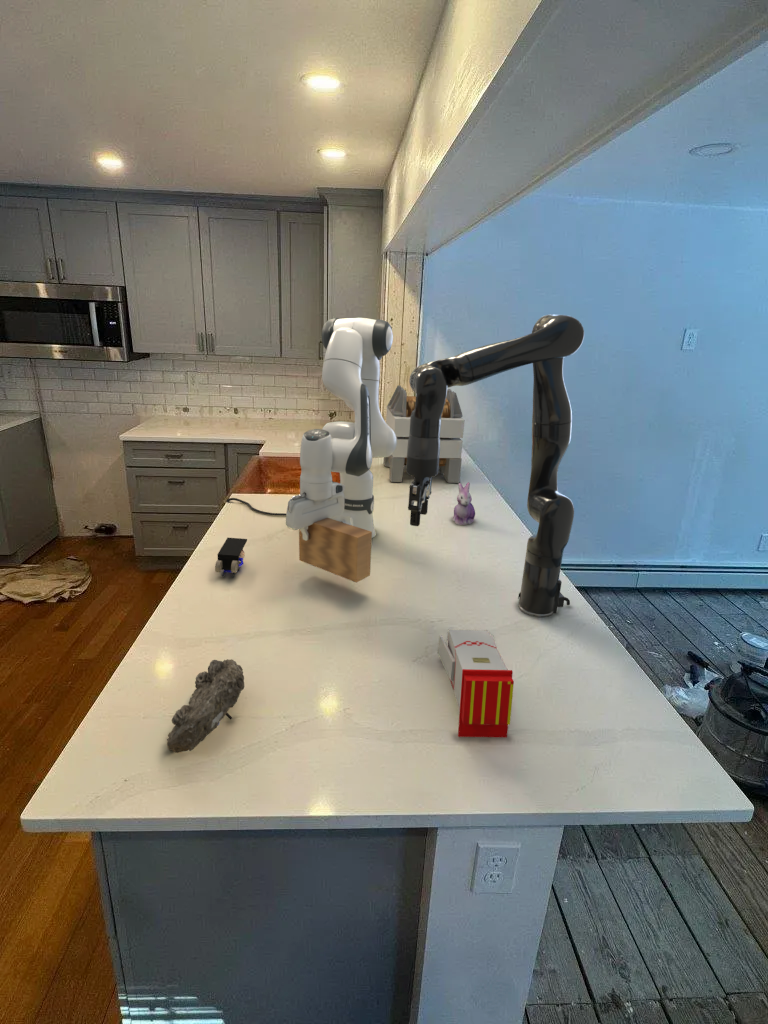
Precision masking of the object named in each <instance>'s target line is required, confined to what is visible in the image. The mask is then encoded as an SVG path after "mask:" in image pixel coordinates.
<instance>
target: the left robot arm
mask: <svg viewBox="0 0 768 1024" xmlns="http://www.w3.org/2000/svg"><path fill="white" fill-rule="evenodd" d="M321 342H322V346H323V347H324V349H325V354H324V359H323V363H322V369H321V381H322V383H323V387H324V388H325V389H326V390H327V391H328V392H329V393H330V394H331V395H333V396H334V397H336V398H338V399H339V400H341V401H343V402H344V405H346V407H347V408H349V409H350V410H351V411H353V412H354V422H353V421H343V420H342V421H341V420H339V421H331V422H327V423H325V425H323V427H322V428H313V429H309V430H307V431H305V432H303V434H302V436H301V441H300V449H299V466H300V469H301V470H300V477H299V494H296V495H293V496H291V498H290V499H289V500H288V502H287V507H286V513H285V512H283V513H281V512H279V513H278V512H269V511H263V510H260V509H258V508H255V507H253V506H252V505H251V504H250V503H249V502H247V501H245V500H243V499H239V498H237V497H230V498H228V499H226V500H225V502H226V503H229V502H230V501H236V502H238V503H242V504H244V505H246V506H247V507H248V508H249V509H250V510H252V511H253V512H256V513H258V514H262V515H268V516H277V517H279V516H282V517H285V526H286V528H288V529H290V530H293V531H299V529H300V531H301V532H302V535H303V540H306V541H307V540H309V539H311V537H310V536H311V534H310V533H308V532H307V529H308V526H310V525H312V524H313V523H314V522H317V521H320V520H322V519H325V518H330V519H333V520H336V521H340V522H343V523H346V524H349V525H352V526H355V527H358V528H362V529H365V530H368V531H371V532H372V539H373V538H375V537H376V535H377V532H376V528H375V523H374V513H373V512H374V509H375V496H374V474H373V472H372V471H371V467H372V464H373V459H384V457H389V456H390V455H391V454H392V453H393V452H394V450H395V448H396V445H397V438H396V435H395V433H394V431H393V430H392V429H391V428H390V427H389V426H388V425H387V423H386V420H385V419H384V417H383V416H382V412H381V410H380V402H379V399H380V398H379V397H380V394H379V392H380V377H381V367H380V366H381V363H380V361H381V360H382V358H383V357H385V356H386V355H387V354H388V353H389V352H390V351H391V348H392V345H393V342H394V333H393V329H392V325H391V324H390V323H389V322H388V321H387V320H383V319H379V318H377V319H373V318H369V317H368V318H366V317H346V318H344V317H343V318H339V317H333V318H330V319H327V320H326V322H324V324H323V326H322V330H321ZM332 473H339V482H338V481H337V482H336V481H333V476H332Z"/></svg>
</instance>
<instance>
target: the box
mask: <svg viewBox="0 0 768 1024" xmlns="http://www.w3.org/2000/svg"><path fill="white" fill-rule="evenodd" d="M307 532H308V533H310V534H311V536H310V537H311V539H309V540H307V541H306V540H303V535H302V532H301V531H300V529H298V560H299V561H300V562H303V563H304V564H307V565H311V566H313V567H315V568H318V569H321V570H323V571H325V572H327V573H330V574H334V575H336V576H339V577H342V578H344V579H346V580H348V581H351V582H354V583H358V582H361V581H362V580H365V579H366V578H368V577H370V576H371V566H372V565H371V561H372V542H373V541H372V539H373V538H372V532H371V531H368V530H365V529H362V528H358V527H355V526H352V525H349V524H346V523H343V522H340V521H336V520H333V519H330V518H325V519H322V520H320V521H317V522H314V523H313V524H312V525H310V526H308V529H307Z"/></svg>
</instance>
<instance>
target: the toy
mask: <svg viewBox="0 0 768 1024" xmlns="http://www.w3.org/2000/svg"><path fill="white" fill-rule="evenodd" d="M446 640H447V643H446V641H445V639H444V636H443V635H442V634H439V637H438V646H437V656H438V657H439V659H440V661H441V663H442V666H443V668H444V670H445V672H446V674H447V677H448V679H449V681H450V684H451V687H452V690H453V693H454V697H455V701H456V705H457V708H458V711H459V714H458V715H459V716H458V730H457V731H458V732H457V737H458V738H508V731H509V726H510V725H511V717H512V707H513V697H514V696H513V695H514V684H515V680H514V679H513V673H514V671H513V670H512V669H508V667H507V665H506V662H505V661H504V659H503V658H502V655H501V653H500V651H499V649H498V647H497V643H496V639H495V637H494V635H493V634H491V632H490V631H489V629H467V628H466V629H465V628H463V629H461V628H460V629H459V628H448V630H447V639H446Z"/></svg>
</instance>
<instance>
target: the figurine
mask: <svg viewBox="0 0 768 1024" xmlns="http://www.w3.org/2000/svg"><path fill="white" fill-rule="evenodd" d="M457 485H458V494H457V496H456V501H457V504H456V505H455V506H454V508H453V516H452V521H453V522H454V523H455V524H456V525H460V526H466V525H471V524H472V523H473V522H474V521H475V516H476V510H475V507H474V505H473V503H472V500H473V498H472V495H471V493H470V488H471V482H470V481H468V482H467V483H466V484H465V486H463V484H462V483H461V482H459V483H457Z"/></svg>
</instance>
